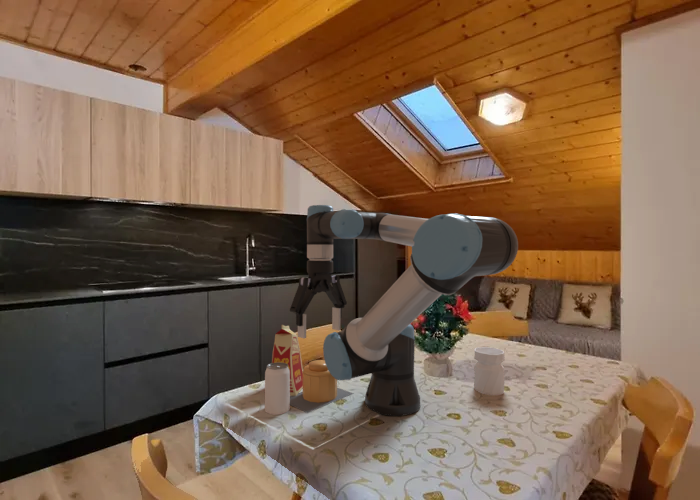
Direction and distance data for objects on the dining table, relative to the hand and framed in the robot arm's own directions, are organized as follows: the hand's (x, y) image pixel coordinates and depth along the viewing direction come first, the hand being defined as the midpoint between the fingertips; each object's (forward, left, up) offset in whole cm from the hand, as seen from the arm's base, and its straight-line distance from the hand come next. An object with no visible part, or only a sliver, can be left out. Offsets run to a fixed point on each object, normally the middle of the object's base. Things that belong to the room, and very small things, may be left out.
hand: (319, 333), depth 113 cm
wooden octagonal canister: (0, 0, -18) cm, 18 cm away
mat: (0, +1, -18) cm, 18 cm away
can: (+1, +14, -19) cm, 23 cm away
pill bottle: (-34, -39, -19) cm, 55 cm away
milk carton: (+11, +3, -18) cm, 22 cm away
